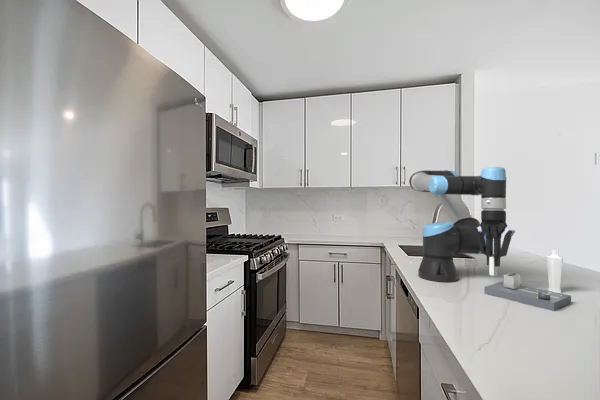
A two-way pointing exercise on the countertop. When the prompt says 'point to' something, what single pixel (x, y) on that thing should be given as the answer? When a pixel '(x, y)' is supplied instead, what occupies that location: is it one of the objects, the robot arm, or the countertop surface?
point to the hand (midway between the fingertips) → (493, 274)
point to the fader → (512, 280)
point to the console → (529, 296)
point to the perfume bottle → (554, 271)
